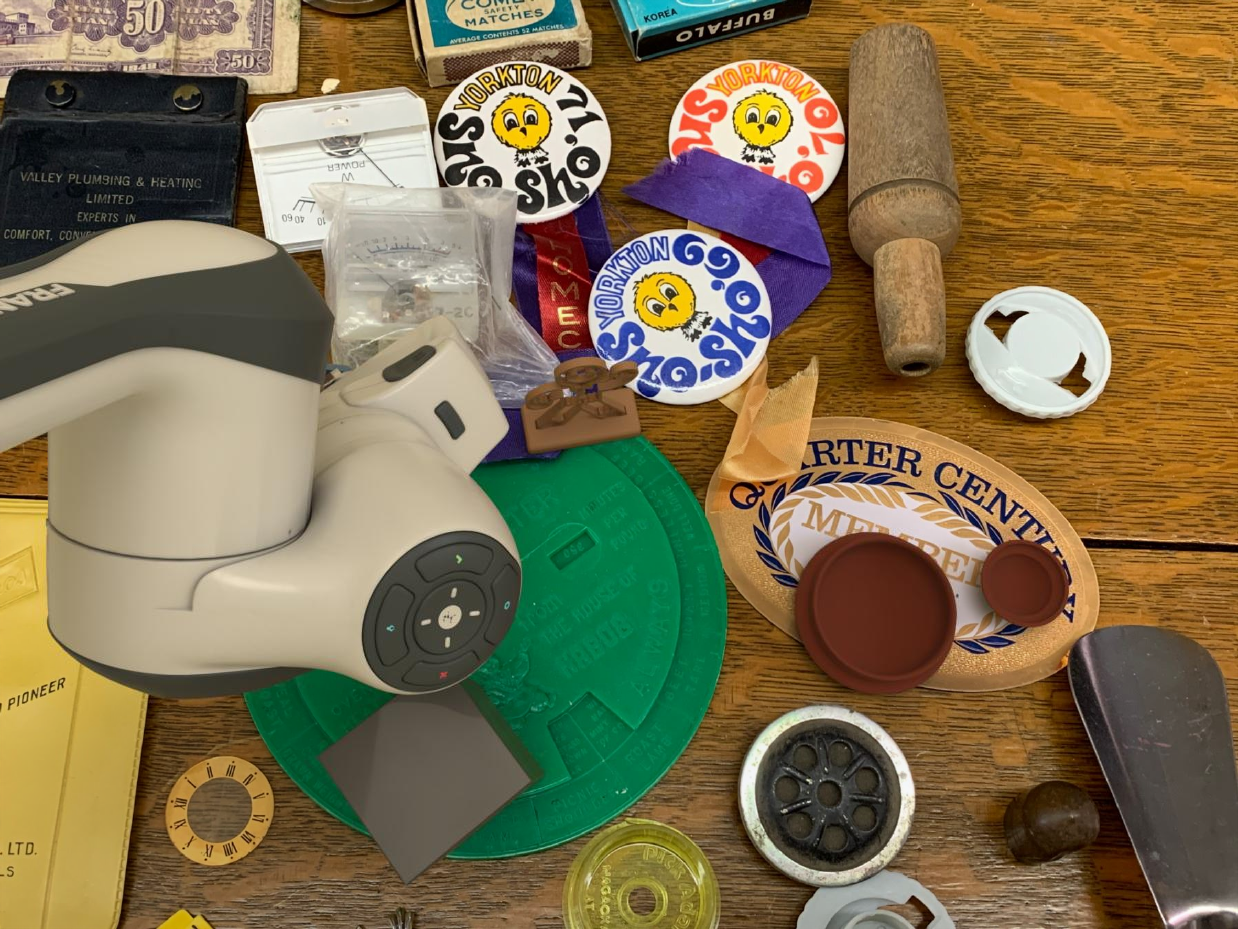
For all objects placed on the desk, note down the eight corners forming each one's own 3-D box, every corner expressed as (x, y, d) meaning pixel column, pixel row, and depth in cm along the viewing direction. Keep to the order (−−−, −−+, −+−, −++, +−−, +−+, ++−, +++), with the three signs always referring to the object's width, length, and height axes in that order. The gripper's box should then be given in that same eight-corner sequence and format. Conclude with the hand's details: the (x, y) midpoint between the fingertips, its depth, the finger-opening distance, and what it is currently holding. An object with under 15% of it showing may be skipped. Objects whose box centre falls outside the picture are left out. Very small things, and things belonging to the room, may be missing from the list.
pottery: (773, 551, 72) (784, 539, 68) (1024, 508, 73) (1051, 493, 69) (809, 709, 69) (824, 707, 64) (1071, 660, 70) (1102, 654, 66)
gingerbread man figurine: (528, 455, 73) (517, 399, 62) (520, 408, 74) (508, 345, 63) (641, 436, 74) (651, 377, 63) (632, 389, 75) (640, 324, 64)
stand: (452, 851, 65) (405, 887, 48) (385, 755, 67) (316, 756, 49) (546, 774, 67) (532, 781, 49) (477, 682, 68) (442, 658, 51)
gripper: (220, 642, 49) (193, 538, 61) (534, 413, 54) (454, 355, 65) (136, 559, 46) (124, 465, 57) (478, 321, 50) (404, 277, 62)
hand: (302, 405), depth 61 cm, fingers closed on shaker, 3 cm apart
